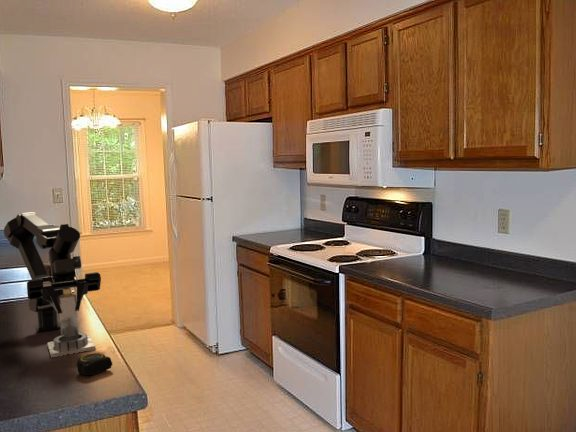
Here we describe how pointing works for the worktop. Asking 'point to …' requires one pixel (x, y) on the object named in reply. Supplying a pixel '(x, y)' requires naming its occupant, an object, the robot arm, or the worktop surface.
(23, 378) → the worktop surface
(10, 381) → the worktop surface
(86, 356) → the tape measure
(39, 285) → the robot arm
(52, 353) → the socket flange
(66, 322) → the gold-capped glass bottle
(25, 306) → the worktop surface
